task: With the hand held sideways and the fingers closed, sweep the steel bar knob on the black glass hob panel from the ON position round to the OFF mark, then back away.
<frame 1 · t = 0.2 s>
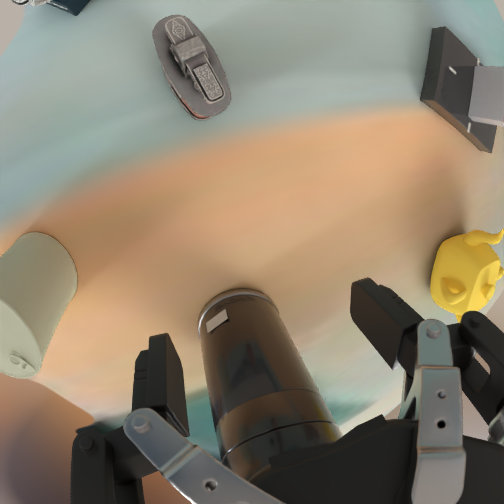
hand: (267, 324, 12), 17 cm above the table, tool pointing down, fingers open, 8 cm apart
teapot: (447, 258, 38), on the table
can: (42, 271, 25), on the table
hob panel: (461, 91, 27), on the table
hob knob: (491, 94, 22), point 6 cm above the table, hinge at 90.0°
lighter: (188, 81, 22), on the table
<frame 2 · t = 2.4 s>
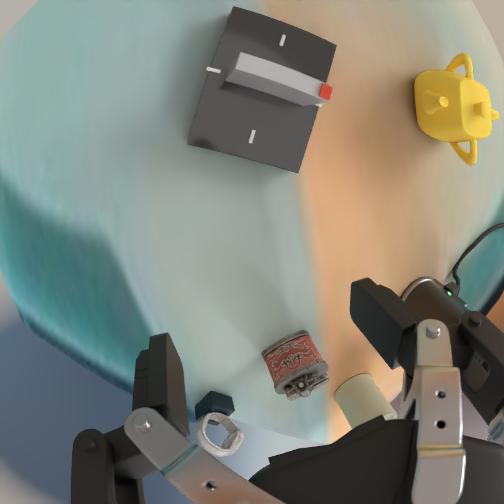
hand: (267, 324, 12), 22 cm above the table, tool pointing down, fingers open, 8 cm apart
teapot: (430, 104, 32), on the table
can: (353, 387, 54), on the table
hob panel: (261, 88, 28), on the table
watch: (213, 401, 46), on the table
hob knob: (276, 81, 23), point 6 cm above the table, hinge at 90.0°
lighter: (285, 344, 44), on the table
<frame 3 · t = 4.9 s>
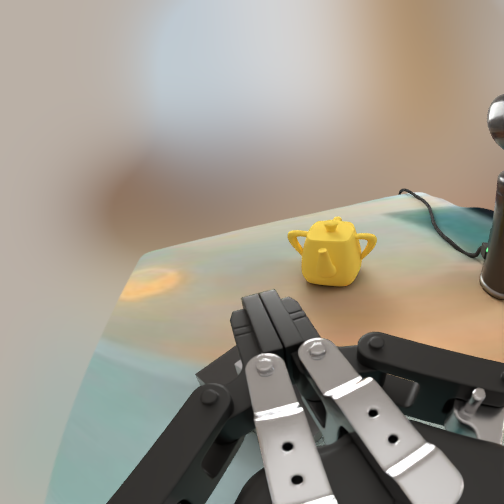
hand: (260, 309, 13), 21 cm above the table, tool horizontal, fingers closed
teapot: (331, 276, 52), on the table
hob panel: (279, 390, 31), on the table
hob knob: (274, 361, 29), point 6 cm above the table, hinge at 90.0°
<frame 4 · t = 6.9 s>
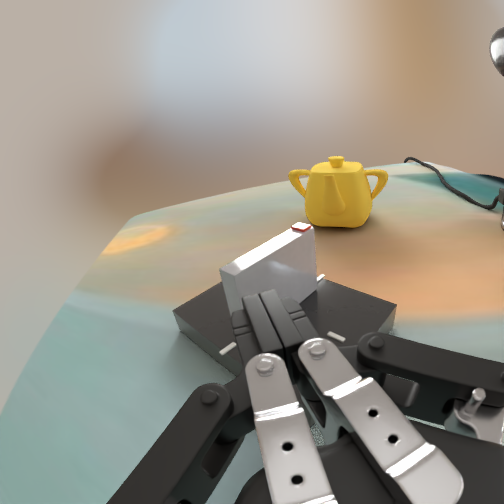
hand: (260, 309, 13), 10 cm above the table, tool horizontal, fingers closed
teapot: (339, 221, 45), on the table
hob panel: (282, 332, 25), on the table
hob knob: (275, 279, 22), point 6 cm above the table, hinge at 90.0°
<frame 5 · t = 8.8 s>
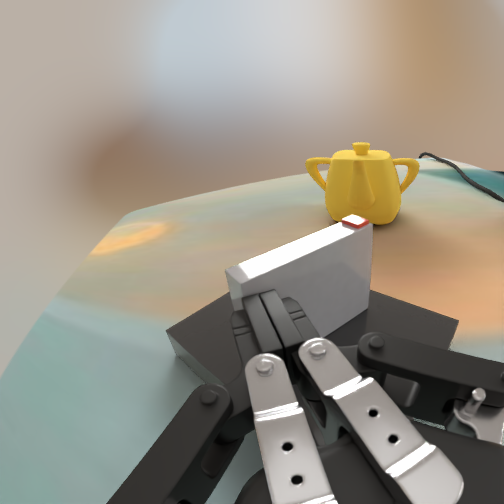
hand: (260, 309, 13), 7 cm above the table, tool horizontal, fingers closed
teapot: (363, 218, 38), on the table
hob panel: (313, 359, 18), on the table
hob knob: (310, 291, 15), point 6 cm above the table, hinge at 76.9°
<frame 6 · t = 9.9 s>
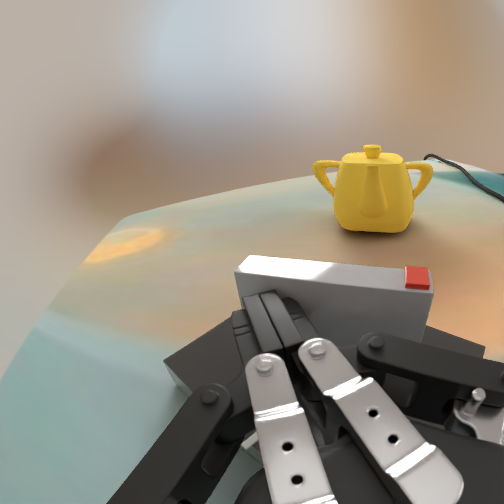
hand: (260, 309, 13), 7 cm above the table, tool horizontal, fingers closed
teapot: (373, 225, 36), on the table
hob panel: (328, 392, 15), on the table
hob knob: (332, 324, 13), point 6 cm above the table, hinge at 20.8°, touching gripper
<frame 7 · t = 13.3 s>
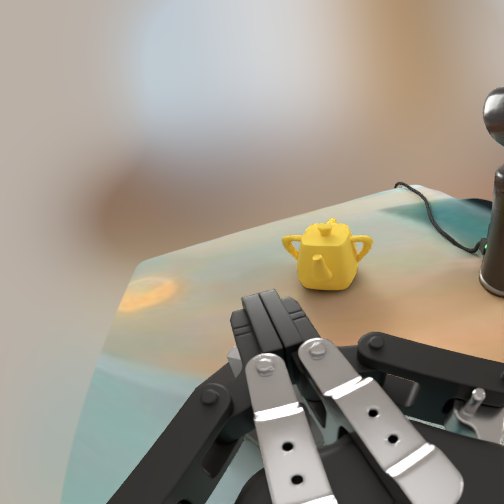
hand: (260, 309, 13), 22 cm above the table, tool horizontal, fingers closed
teapot: (328, 279, 51), on the table
hob panel: (278, 402, 31), on the table
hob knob: (271, 375, 28), point 6 cm above the table, hinge at 20.7°
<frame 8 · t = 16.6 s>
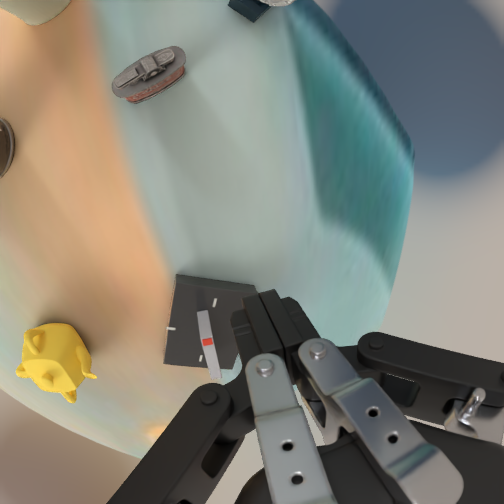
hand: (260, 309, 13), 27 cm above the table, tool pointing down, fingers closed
teapot: (64, 340, 41), on the table
hob panel: (205, 322, 45), on the table
watch: (252, 2, 27), on the table
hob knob: (209, 346, 40), point 6 cm above the table, hinge at 20.7°
lighter: (155, 82, 29), on the table
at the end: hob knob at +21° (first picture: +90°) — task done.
